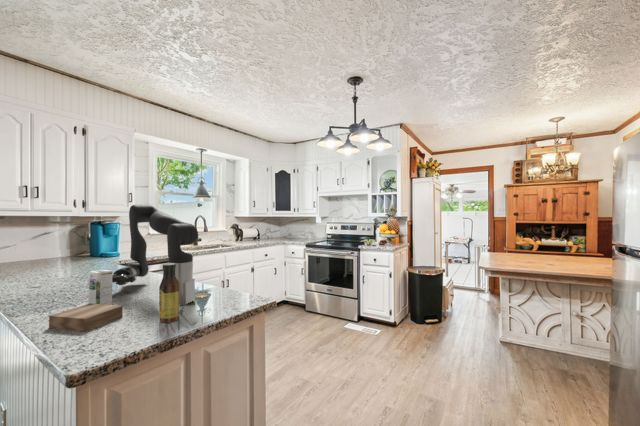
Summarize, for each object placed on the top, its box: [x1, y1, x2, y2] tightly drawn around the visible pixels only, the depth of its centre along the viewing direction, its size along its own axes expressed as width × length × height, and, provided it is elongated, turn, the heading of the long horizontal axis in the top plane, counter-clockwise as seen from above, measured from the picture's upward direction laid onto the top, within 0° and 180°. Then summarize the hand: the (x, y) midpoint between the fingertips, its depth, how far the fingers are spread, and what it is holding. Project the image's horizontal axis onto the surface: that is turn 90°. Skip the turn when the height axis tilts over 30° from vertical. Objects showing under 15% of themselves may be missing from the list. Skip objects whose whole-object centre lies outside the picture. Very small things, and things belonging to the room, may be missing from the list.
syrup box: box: [88, 269, 114, 305], centre depth 119 cm, size 6×6×14 cm
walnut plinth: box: [48, 303, 123, 332], centre depth 102 cm, size 14×14×4 cm
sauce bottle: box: [158, 262, 180, 323], centre depth 104 cm, size 6×6×20 cm
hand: (110, 282), depth 127 cm, fingers open, 8 cm apart
